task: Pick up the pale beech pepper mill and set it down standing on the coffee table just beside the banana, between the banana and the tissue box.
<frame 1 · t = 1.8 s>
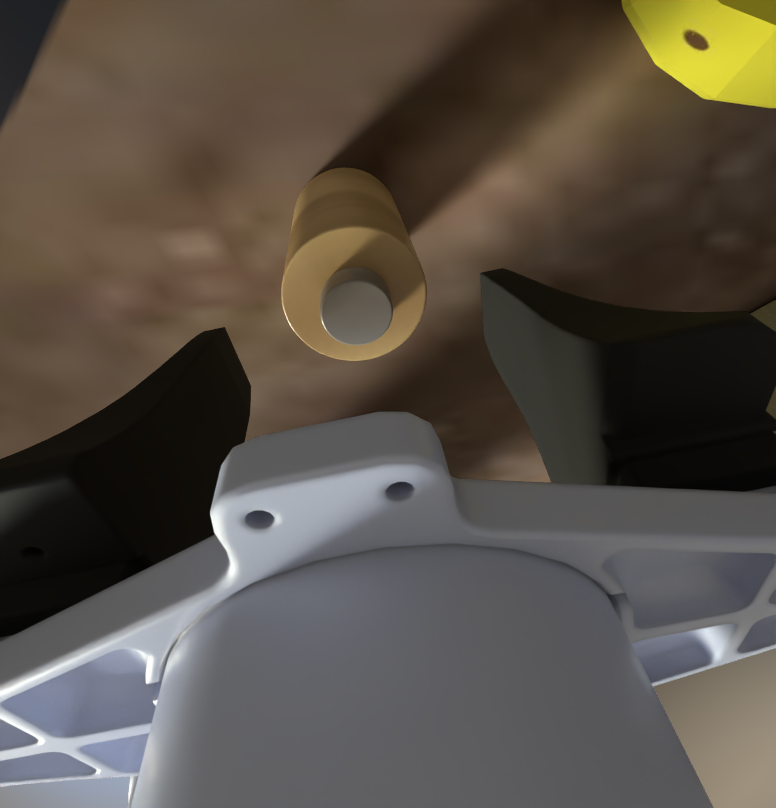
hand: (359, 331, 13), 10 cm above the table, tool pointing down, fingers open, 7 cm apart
tissue box: (746, 374, 29), on the table
pepper mill: (346, 224, 21), on the table
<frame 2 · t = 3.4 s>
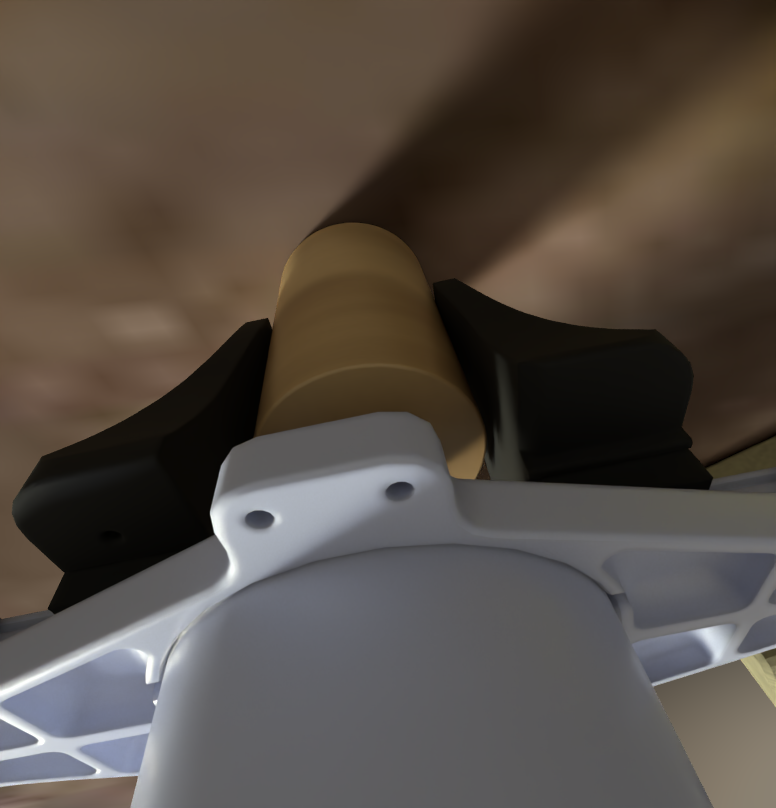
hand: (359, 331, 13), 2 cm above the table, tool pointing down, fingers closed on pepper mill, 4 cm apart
pepper mill: (353, 295, 15), on the table, touching gripper
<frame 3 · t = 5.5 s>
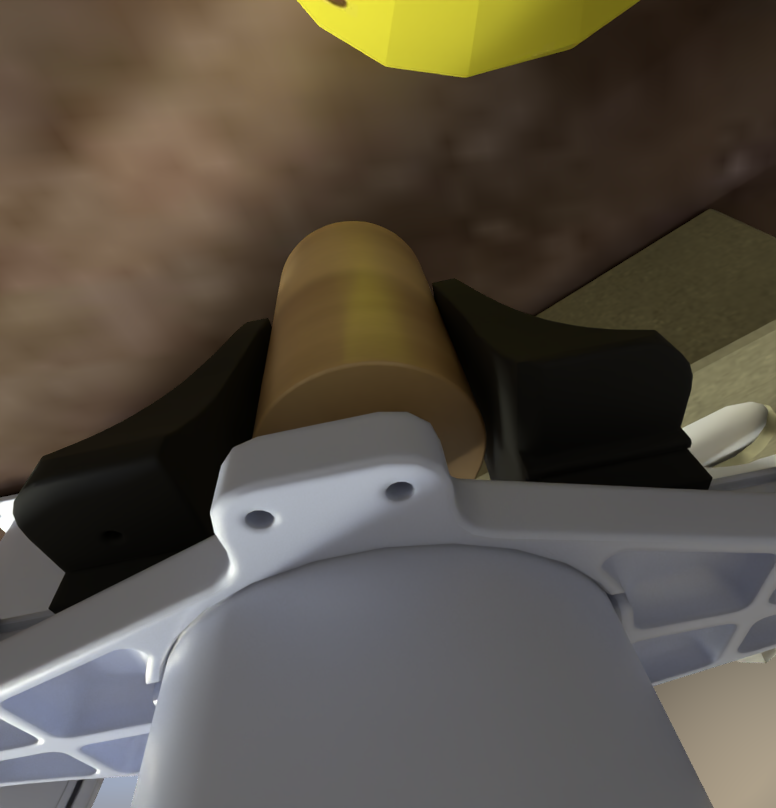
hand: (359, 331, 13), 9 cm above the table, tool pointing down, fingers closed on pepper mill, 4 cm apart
tissue box: (564, 375, 27), on the table
pepper mill: (353, 293, 15), point 7 cm above the table, touching gripper
when the fingers open (2 cm above the table, at t = 8.1 s): pepper mill stays where it is, on the table.
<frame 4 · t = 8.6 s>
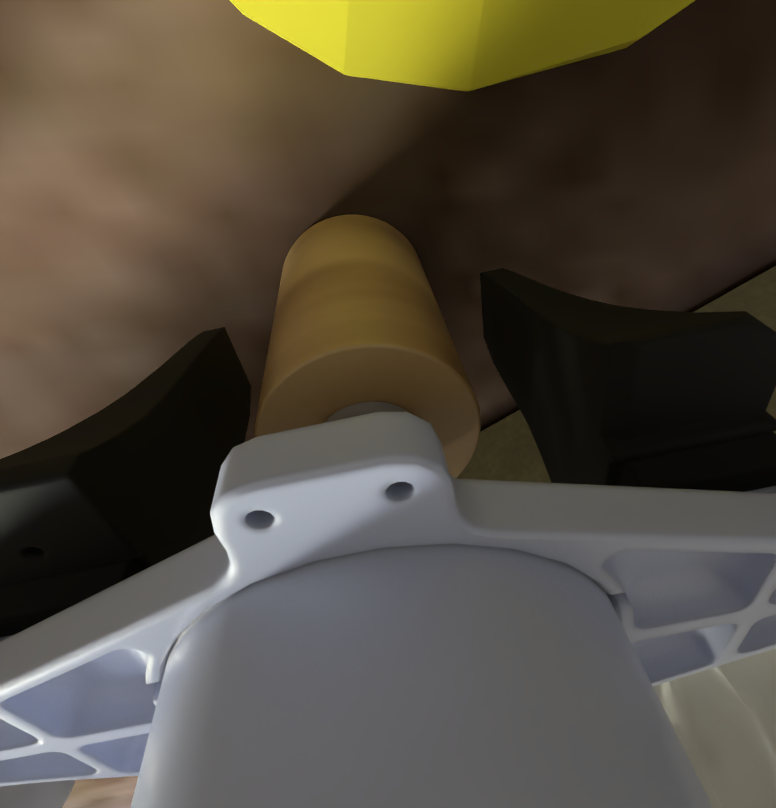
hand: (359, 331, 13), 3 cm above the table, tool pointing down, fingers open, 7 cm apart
tissue box: (588, 452, 22), on the table
pepper mill: (353, 286, 16), on the table
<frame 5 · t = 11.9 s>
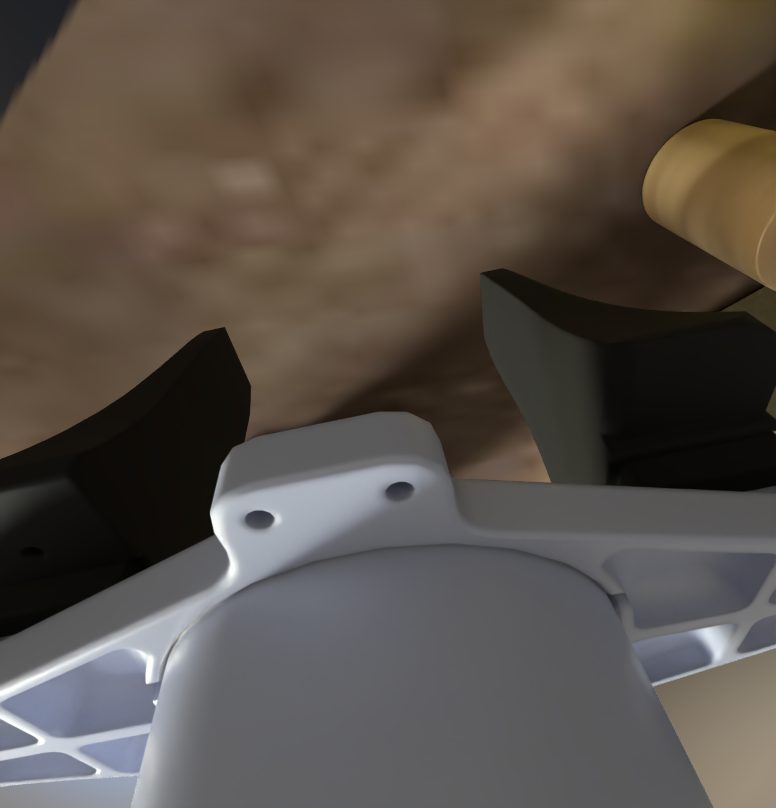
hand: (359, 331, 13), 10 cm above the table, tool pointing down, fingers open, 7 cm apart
pepper mill: (691, 176, 22), on the table
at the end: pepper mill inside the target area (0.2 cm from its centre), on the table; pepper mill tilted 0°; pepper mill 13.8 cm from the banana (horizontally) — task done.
